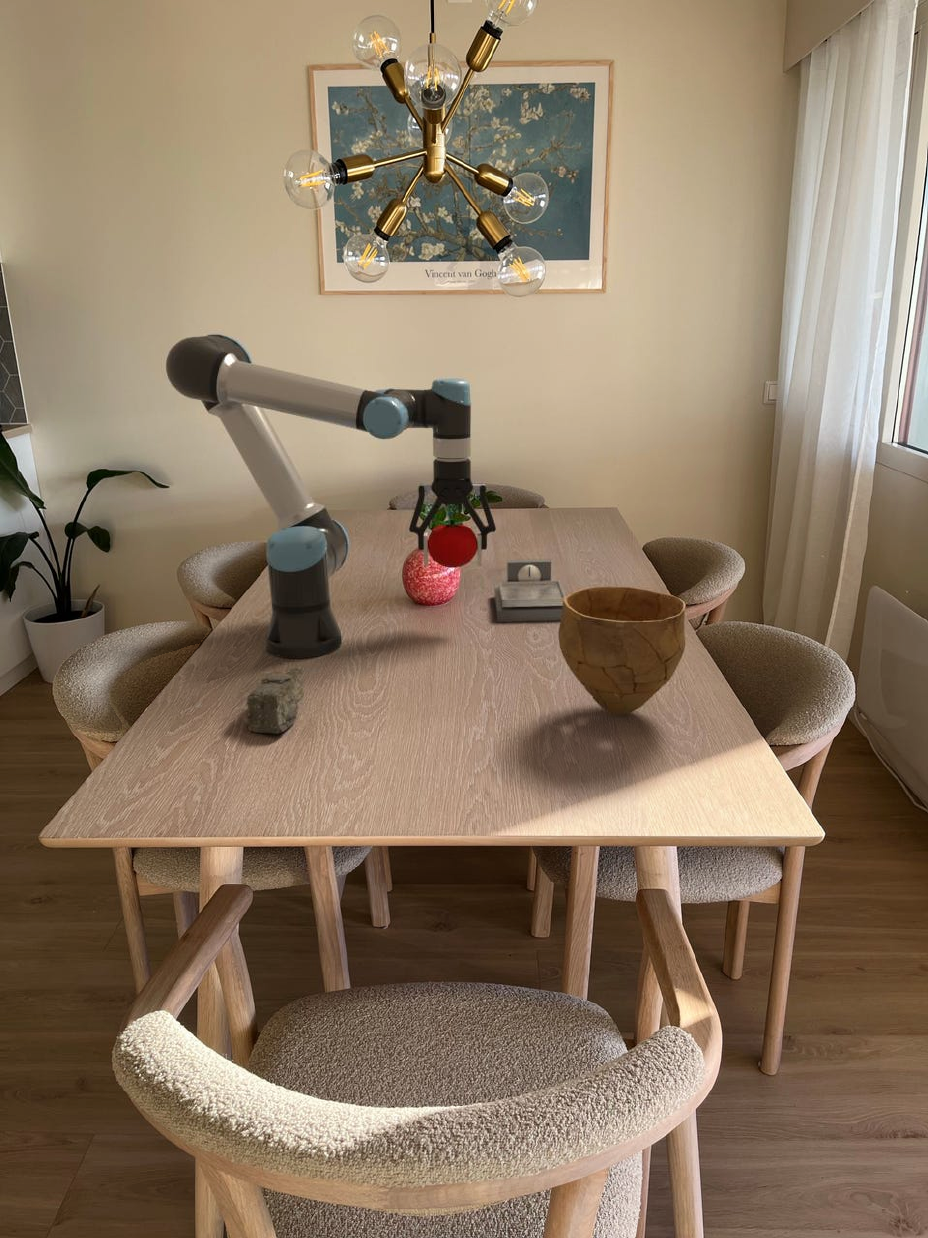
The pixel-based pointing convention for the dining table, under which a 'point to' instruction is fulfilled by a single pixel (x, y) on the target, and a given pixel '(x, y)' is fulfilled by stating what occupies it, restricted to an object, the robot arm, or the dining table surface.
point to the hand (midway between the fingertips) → (452, 564)
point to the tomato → (452, 544)
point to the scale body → (527, 572)
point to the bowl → (622, 643)
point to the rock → (275, 702)
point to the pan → (531, 593)
